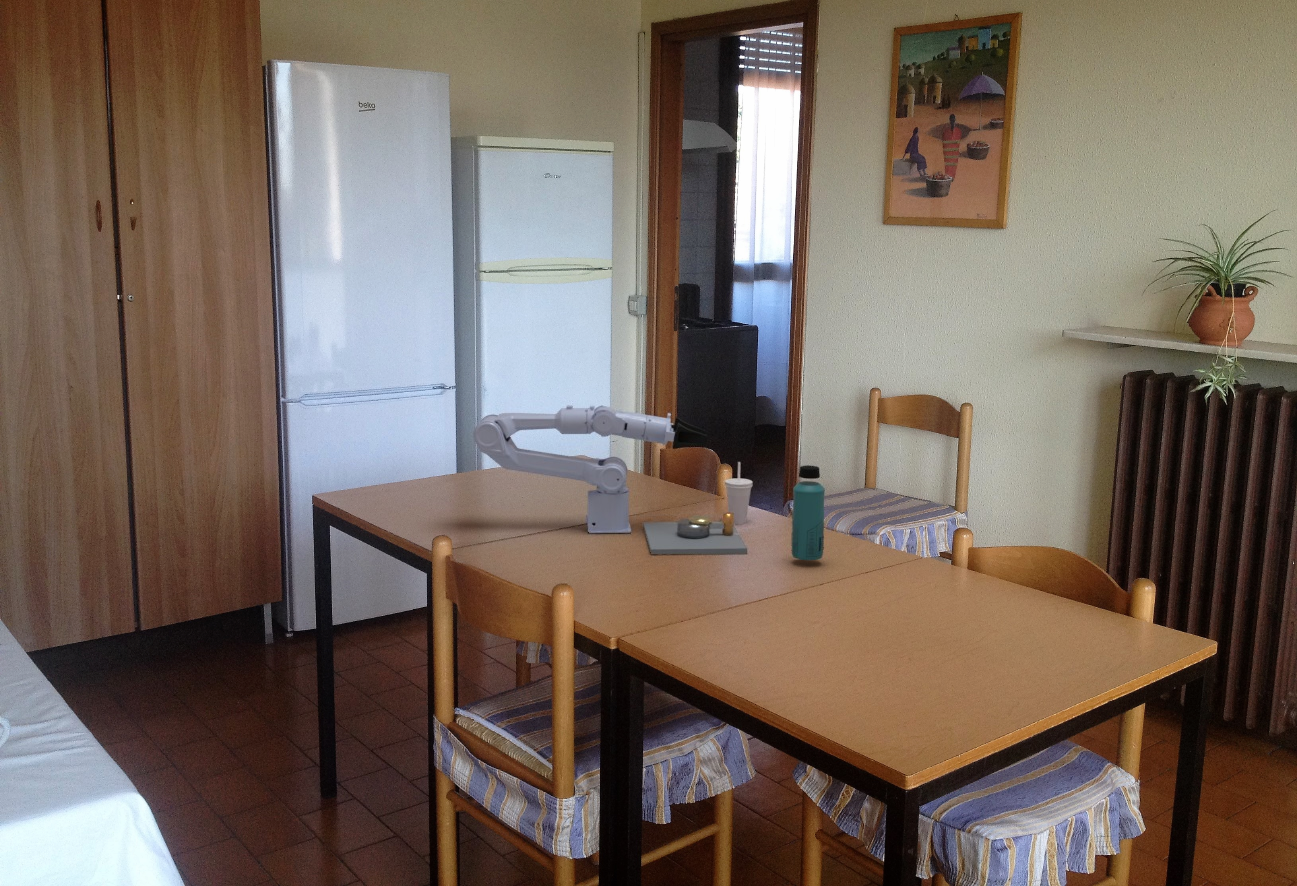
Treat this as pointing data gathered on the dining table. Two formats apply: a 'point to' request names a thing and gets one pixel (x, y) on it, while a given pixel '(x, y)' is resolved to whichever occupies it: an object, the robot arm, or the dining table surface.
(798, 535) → the beverage bottle
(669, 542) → the stand
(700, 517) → the crank
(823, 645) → the dining table surface
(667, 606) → the dining table surface
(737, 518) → the smoothie
